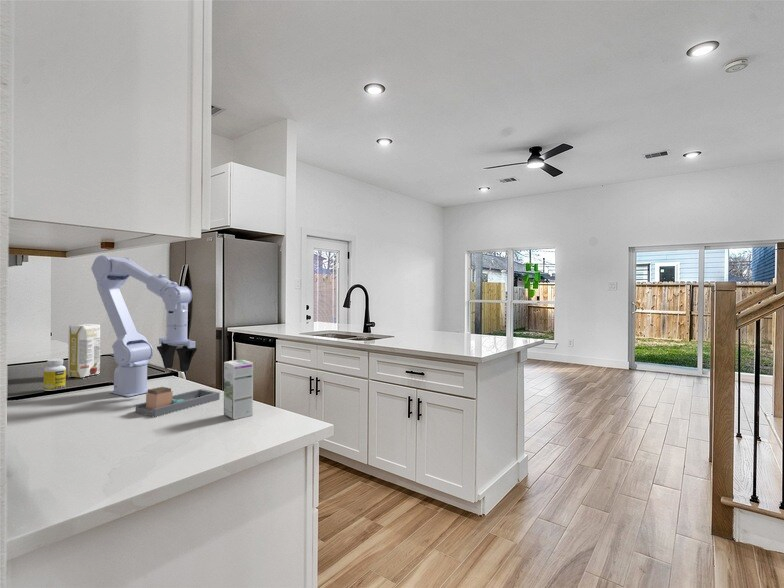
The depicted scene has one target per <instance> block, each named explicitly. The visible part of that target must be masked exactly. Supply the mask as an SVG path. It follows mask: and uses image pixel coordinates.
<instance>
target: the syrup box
mask: <svg viewBox="0 0 784 588" xmlns="http://www.w3.org/2000/svg"><path fill="white" fill-rule="evenodd" d="M223 415H224V416H226V417H227V418H229V419H231V420H233V419H234V420H239V419H238V418H240V419H243V417H244V418H247V417H253V415H254V363H253V361H248V360H245V359H234V360H229V361H224V362H223Z"/></svg>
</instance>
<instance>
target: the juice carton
mask: <svg viewBox="0 0 784 588" xmlns="http://www.w3.org/2000/svg"><path fill="white" fill-rule="evenodd" d="M67 349H68V354H67V357H68V359H67V361H68V362H67V364H68V365H67V366H68V367H67V371H68V372H67V373H68V376H67V377H69V376H75V377H85V376H89V375H94V374H99V373H101V372H100V370H101V325H100V324H96V323H83V324H78V325H77V324H73V325H72V324H71V325H68V347H67ZM99 375H100V374H99Z"/></svg>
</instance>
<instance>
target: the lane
mask: <svg viewBox="0 0 784 588" xmlns="http://www.w3.org/2000/svg"><path fill="white" fill-rule="evenodd" d="M199 396H201V397H199ZM220 396H221V395H220V392H219V391H213V390H210V389H209V390H208V389H202V388H200V389H193V390H191V391H187V392H182V393H179V394H178V393H177V394H175V395H174V394H173V396H172V399H176V400H179V399H183V400H186V401H182V402H178V403H174V404H170V405H166V406H163V407H159V408H155V409H150V408H146V401H145V402H141V403H136V404H135V413H137V412H138V414H141V413H142V415H145V414H146V416H149V415H150V416H149V417H152V416H154V417H153V418H158V417H160V416H164V414H165V415H168V413H169V414H172V413H175V412H174V411H176V412H178V410H179V411H182V410H181V409H183V410H185V408H186V409H189V408H188V407H190V408H193V407H192V406H194V407H197V406H200V405H199V404H201V405H204V404H208V403H211V402H215V401H218V400H220ZM195 397H196V398H195ZM191 398H192V399H191ZM187 399H188V400H187ZM210 401H211V402H210ZM207 402H208V403H207ZM203 403H204V404H203ZM196 405H197V406H196ZM171 412H172V413H171ZM157 416H158V417H157Z"/></svg>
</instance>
